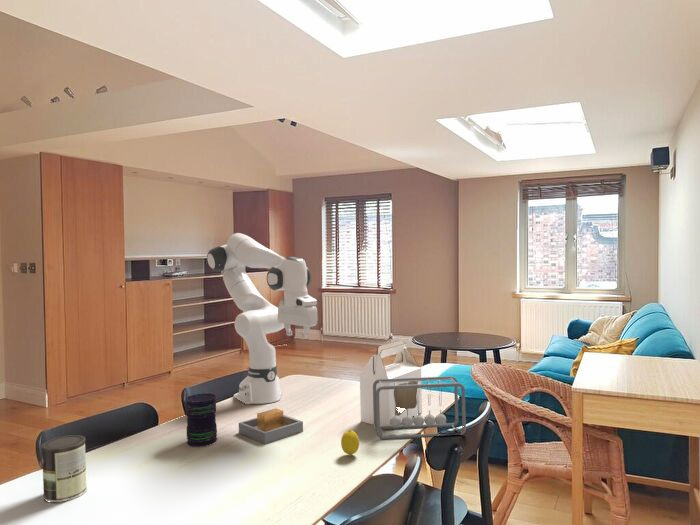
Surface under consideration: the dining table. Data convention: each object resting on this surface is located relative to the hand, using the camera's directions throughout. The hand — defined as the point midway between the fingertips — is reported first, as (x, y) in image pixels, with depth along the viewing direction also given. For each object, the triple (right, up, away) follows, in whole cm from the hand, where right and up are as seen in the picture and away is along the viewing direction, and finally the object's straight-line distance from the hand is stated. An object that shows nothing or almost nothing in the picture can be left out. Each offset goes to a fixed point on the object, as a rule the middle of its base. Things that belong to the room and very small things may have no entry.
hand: (297, 336), depth 195 cm
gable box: (+36, -31, 0) cm, 47 cm away
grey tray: (-8, -32, -13) cm, 35 cm away
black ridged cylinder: (-30, -33, -21) cm, 49 cm away
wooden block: (-8, -31, -13) cm, 34 cm away
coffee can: (-56, -34, -57) cm, 87 cm away
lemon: (+20, -32, -36) cm, 52 cm away
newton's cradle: (+44, -31, -18) cm, 56 cm away
